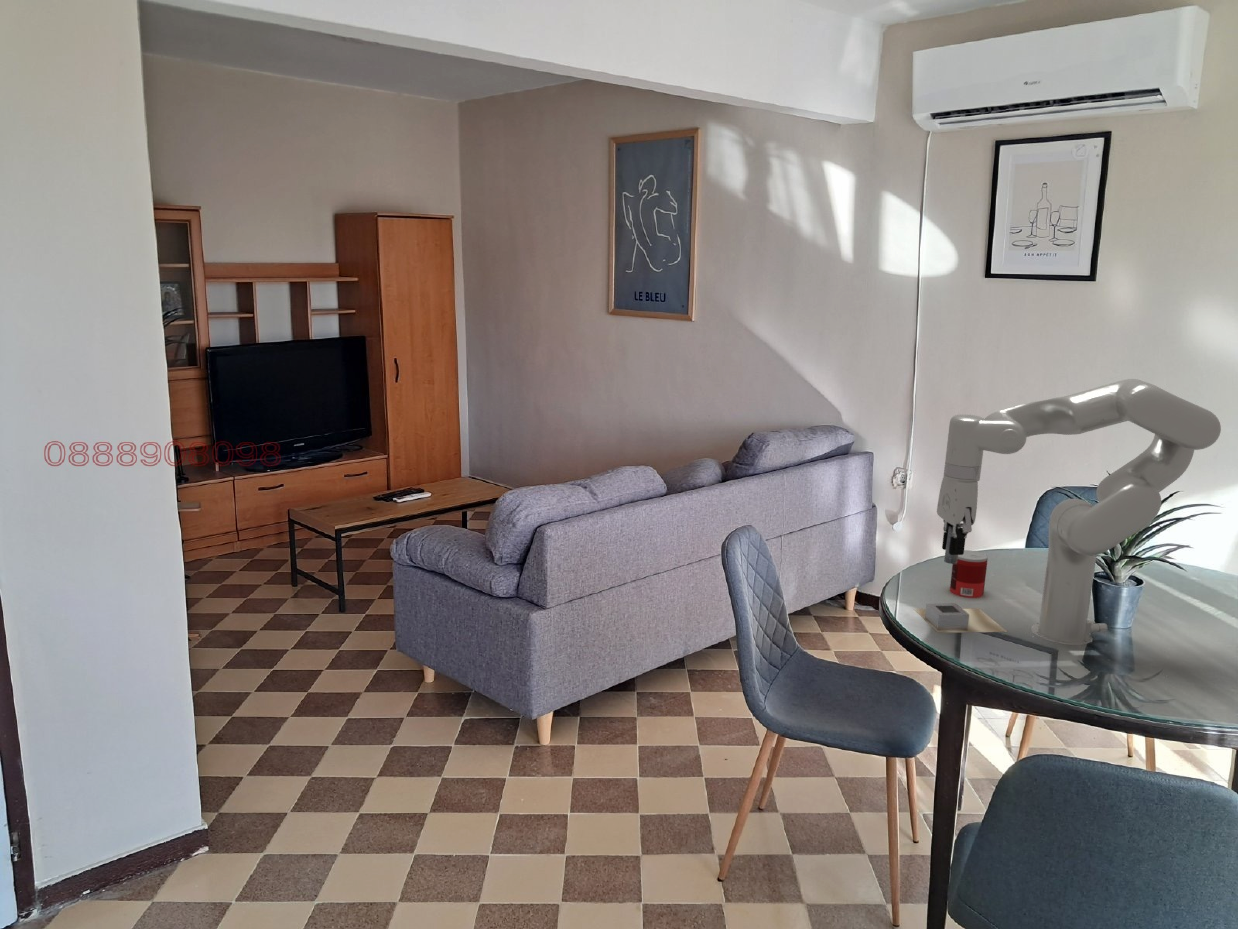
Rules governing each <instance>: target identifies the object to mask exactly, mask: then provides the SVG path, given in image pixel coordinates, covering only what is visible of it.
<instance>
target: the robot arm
mask: <svg viewBox="0 0 1238 929" xmlns="http://www.w3.org/2000/svg"><path fill="white" fill-rule="evenodd" d="M1125 422H1130V423H1133V424H1134V425H1136V426H1139V427H1140V428H1142V429H1144V430H1145V431H1148V432H1150V433H1153V435H1154V436H1153V439H1152V441H1151V443H1150V444H1149V446H1148V447H1147V448H1146V449H1145V450H1144V451H1143V452H1141V453H1140V454H1138V455H1137V456H1136V457H1135V458H1133V459H1132V460H1130V461H1129V462H1127V463H1125V464H1124V465H1123V466H1121V467H1119V468H1118V469H1117V470H1115V471H1113V472H1112V473H1110V474H1108V475H1107V476H1106V477H1104V478H1103V479H1102V480H1101V481H1099V483H1098V484H1097V488H1096V492H1095V494H1096V498H1097V501H1098V502H1097V503H1096V504H1094V505H1092V504H1091V503H1089V501H1086V500H1084V499H1080V498H1068V499H1064V500H1062V501H1060V502H1059V503H1058V504H1057V505H1056V506H1055V507H1054V508H1053V509H1052V511H1051V514H1050V516H1049V520H1048V521H1049V522H1048V551H1047V559H1046V568H1045V573H1044V575H1045V576H1044V582H1043V588H1042V589H1043V590H1042V597H1041V599H1042V600H1041V603H1040V604H1041V605H1040V612H1039V620H1038V623H1037V622H1036V623H1034V624H1033V625H1031V626H1030V630H1031V632H1032V633H1033V634H1035V635H1036V636H1038V637H1040V638H1042V639H1044V640H1047V641H1050V642H1053V643H1058V644H1062V645H1063V644H1064V645H1075V646H1076V645H1085V644H1089V643H1093V636H1092V635H1091V634H1094V633H1096V632H1097V633H1107V632H1108V629H1109V628H1108V625H1107V623H1106V622H1105V623H1103V622H1101V623H1096V622H1095V620H1094V619H1093V620H1092V619H1091V620H1088V617H1089V612H1090V611H1089V610H1090V605H1091V604H1090V603H1091V595H1092V589H1093V584H1094V583H1093V582H1094V576H1095V571H1096V560H1097V558H1096V557H1097V555H1101V554H1103V553H1106V552H1107V551H1109V550H1111V549H1113V548H1114V547H1115V546H1117V545H1119V544H1120V543H1122V542H1124V541H1125V540H1127V539H1128V538H1130V537H1131V536H1133V535H1135V534H1136V533H1138V532H1140V531H1141V530H1142V529H1144V528H1145V527H1146V526H1148V525H1150V524H1151V523H1152V521H1153V520H1155V518H1157V516H1158V514H1159V512H1160V510H1161V507H1162V498H1161V497H1162V496H1161V494H1160V492H1161V493H1162V491H1163V490H1164V489H1166V488H1168V487H1169V486H1170V485H1171V484H1173V483H1174V482H1175V481H1177V480H1178V479H1180V477H1182V476H1183V475H1184V473H1185V472H1186V471H1187V469H1188V468H1189V466H1190V464H1191V462H1192V460H1193V456H1194V455H1195V454H1194V453H1195V450H1196V451H1199V450H1204V449H1207V448H1209V447H1211V446H1213V445H1214V444H1215V443H1216V442H1217V441H1218V439H1219V437H1220V435H1221V430H1222V429H1221V428H1222V426H1221V422H1220V420H1219V418H1218V417H1217V416H1216V415H1215V413H1214V412H1212V411H1211V410H1208V409H1206V408H1204V407H1202V406H1199V405H1197V404H1195V403H1193V402H1190V401H1189V400H1186V399H1183V398H1182V397H1179V396H1177V395H1175V394H1173V393H1171V392H1169V391H1167V390H1165V389H1162V388H1161V387H1159V386H1157V385H1154V384H1152V383H1149V382H1147V381H1143V380H1141V379H1136V378H1130V379H1129V378H1127V379H1122V380H1119V381H1115V382H1112V383H1108V384H1105V385H1101V386H1098V387H1094V388H1090V389H1087V390H1084V391H1080V392H1077V393H1073V394H1068V395H1065V396H1059V397H1053V398H1048V399H1045V400H1044V399H1043V400H1038V401H1037V400H1036V401H1032V402H1031V401H1030V402H1027V403H1023V404H1019V405H1016V406H1015V405H1014V406H1011V407H1008V408H1005V409H1001V410H997V411H995V412H992V413H990V414H988V415H987V416H986V417H981V416H979V415H973V414H955V415H953V416H952V417H951V418H950V420H949V426H948V433H947V434H948V435H947V442H946V452H945V461H944V470H943V477H942V480H941V484H940V488H939V495H938V499H937V500H938V501H937V506H936V507H937V508H936V513H937V516H938V517H939V518H941V519H942V520H943V528H942V529H943V537H942V543H941V544H942V546H941V549H943V551H946V543H947V536H948V529H949V526H953V537H951V538H950V546H949V554H950V555H963V554H964V550H965V546H966V545H965V544H966V539H967V536H968V534H969V533H971V532H972V530H973V528H972V526H973V525H974V524H975V522H976V517H977V509H978V494H979V493H978V490H979V489H978V487H979V484H978V482H979V481H980V480H981V472H982V464H983V459H984V458H983V456H984V451H986V452H992V453H995V454H1000V455H1012V454H1015V453H1018V452H1019V451H1021V450H1022V449H1023V448H1024V446H1025V444H1026V442H1027V438H1028V437H1032V436H1038V435H1046V434H1048V435H1049V434H1054V435H1055V434H1056V435H1063V436H1064V435H1067V436H1070V435H1071V436H1073V435H1082V434H1085V433H1087V432H1088V433H1089V432H1092V431H1096V430H1099V429H1102V428H1103V429H1104V428H1107V427H1110V426H1113V425H1117V424H1121V423H1125ZM962 522H963V523H962ZM958 527H961V528H959V529H958Z"/></svg>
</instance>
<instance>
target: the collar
mask: <svg viewBox="0 0 1238 929" xmlns="http://www.w3.org/2000/svg"><path fill="white" fill-rule="evenodd" d="M925 609H926V612H925V619H927V620H928V621H929V622H930V623H931V624H932V625H933V626H934V627H935V628H936V629H937V630H968V623H969V614H968V613H967V612H965V611H964V610H963V609H964V608H962V607H961V606H959V605H958V604H957V602H956V603H954V602H953V603H951V602H950V603H926V605H925Z"/></svg>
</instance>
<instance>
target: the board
mask: <svg viewBox="0 0 1238 929" xmlns="http://www.w3.org/2000/svg"><path fill="white" fill-rule="evenodd" d="M962 609H963V610H964V611H965V612H967V613H968V614H969V623H968V630H937V629H936V628H935V627H934V626H933V625H932V624H931V623H930V622H929V621H928V620H927V619H925V612H926V608H914V609H913V611H915V613H917V615H919V616H920V618H922V619H923V620H924V621H925V622H926V623H927V624H928V625H929V626H931V628H933V630H935V632H937V633H938V634H940V633H941V634H942V633H943V634H944V633H945V634H946V633H947V634H949V633H951V634H952V633H954V634H955V633H956V634H957V633H1008V631H1007V630H1006V629H1005V628H1003V627H1002V626H1001V625H1000V624H998V623H997V622H996V621H995V620H993V619H992V617H990V616H989V615H987V613H985V612H984V611H983V610H981V609H980V608H962Z"/></svg>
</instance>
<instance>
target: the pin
mask: <svg viewBox="0 0 1238 929" xmlns="http://www.w3.org/2000/svg"><path fill="white" fill-rule="evenodd" d="M959 528H962V527H958V529H959ZM951 537H953V526H949V529H948V536H947V543H946V550H944V557H943V558H944V559H943V562H944V563H946V564H950V565H953V564H957V561H958V555H950V554H949V546H950V538H951Z"/></svg>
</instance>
